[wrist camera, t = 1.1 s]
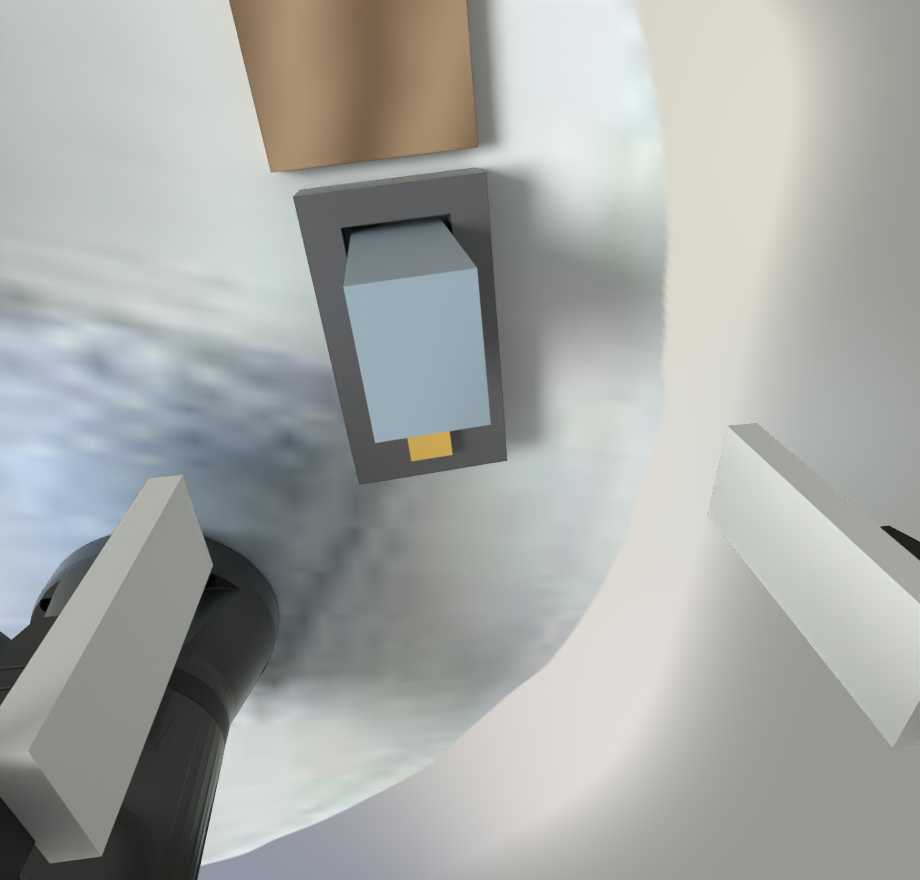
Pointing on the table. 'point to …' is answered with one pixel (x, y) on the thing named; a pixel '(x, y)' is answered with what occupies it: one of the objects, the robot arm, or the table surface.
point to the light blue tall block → (416, 329)
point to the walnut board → (357, 78)
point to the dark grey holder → (327, 247)
